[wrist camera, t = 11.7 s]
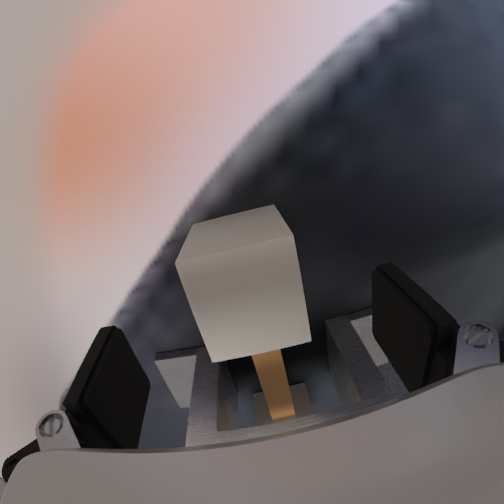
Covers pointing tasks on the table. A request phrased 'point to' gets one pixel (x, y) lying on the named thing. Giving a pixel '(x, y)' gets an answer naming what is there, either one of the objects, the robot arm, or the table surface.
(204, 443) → the block
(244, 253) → the block ended dumbbell
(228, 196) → the table surface
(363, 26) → the table surface
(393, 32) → the table surface
